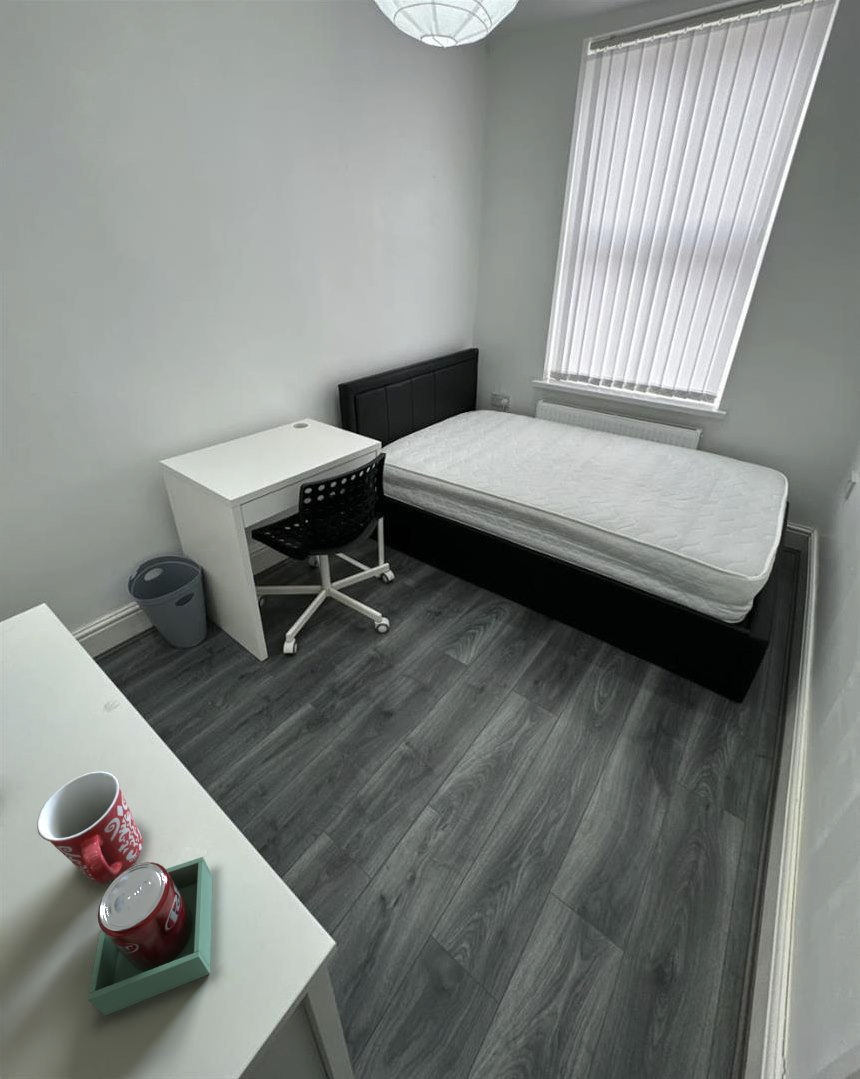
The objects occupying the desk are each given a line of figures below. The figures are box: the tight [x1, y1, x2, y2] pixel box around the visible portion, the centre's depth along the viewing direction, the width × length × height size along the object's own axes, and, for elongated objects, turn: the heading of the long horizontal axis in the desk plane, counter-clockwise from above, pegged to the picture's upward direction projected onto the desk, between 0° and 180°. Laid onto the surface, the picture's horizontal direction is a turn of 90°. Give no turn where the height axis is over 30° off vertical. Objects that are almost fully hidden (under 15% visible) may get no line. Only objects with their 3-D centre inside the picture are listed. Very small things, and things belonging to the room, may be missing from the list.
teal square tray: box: [87, 856, 213, 1016], centre depth 59 cm, size 11×11×6 cm
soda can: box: [97, 861, 192, 972], centre depth 57 cm, size 7×7×12 cm
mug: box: [36, 771, 144, 884], centre depth 64 cm, size 13×9×14 cm
